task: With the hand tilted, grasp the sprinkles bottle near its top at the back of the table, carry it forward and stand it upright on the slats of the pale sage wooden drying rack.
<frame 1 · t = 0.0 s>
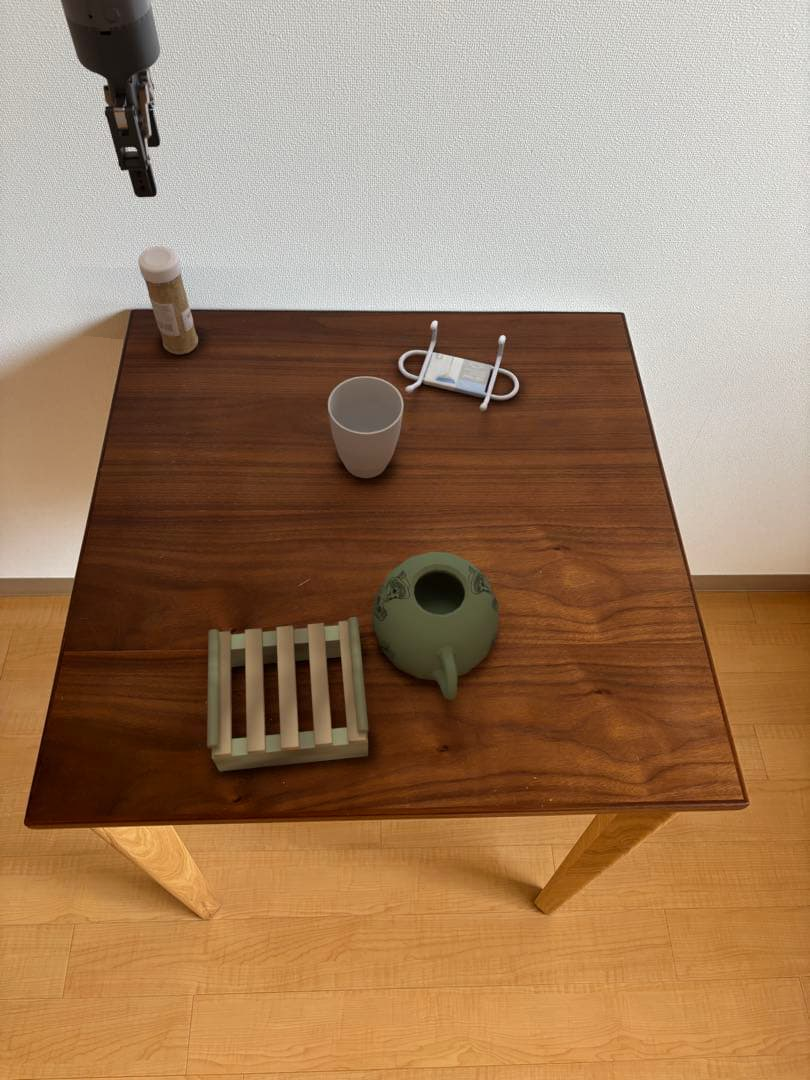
hand: (148, 169, 86), 24 cm above the table, tool pointing down, fingers open, 8 cm apart
drying rack: (291, 703, 80), on the table
sprinkles bottle: (181, 344, 105), on the table
wall mount rack: (454, 392, 102), on the table
olive green ceramic pot: (435, 643, 84), on the table
cup: (366, 462, 96), on the table
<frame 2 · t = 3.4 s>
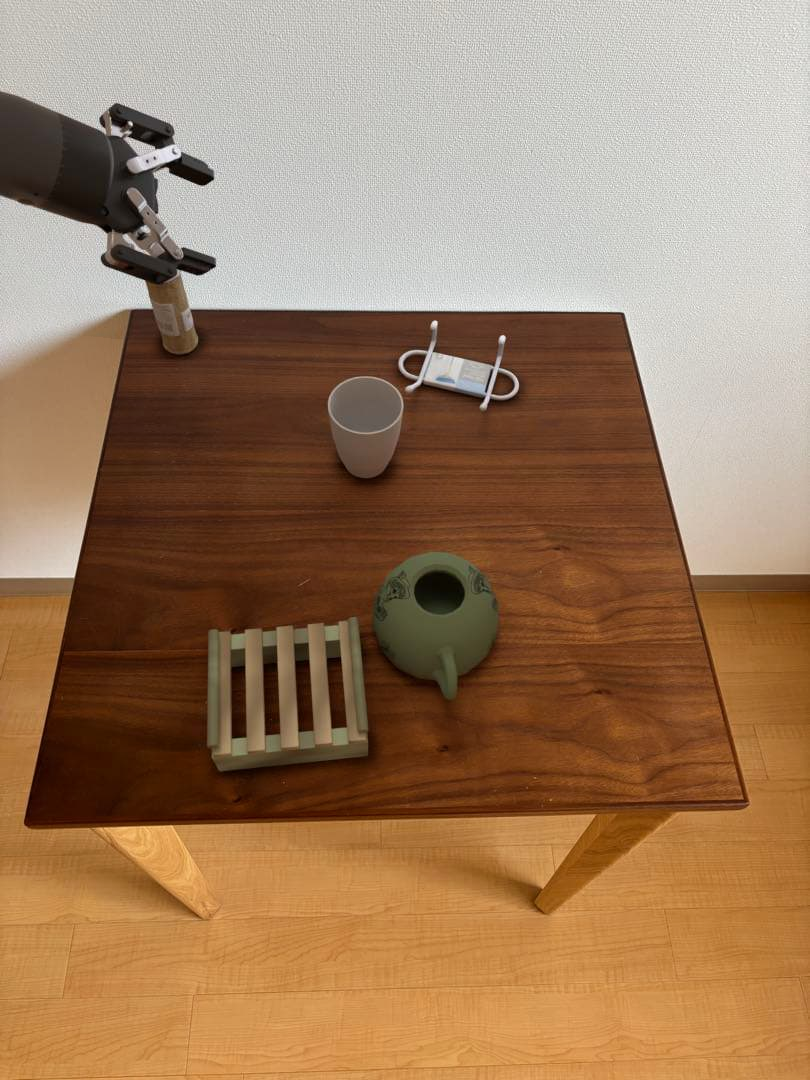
hand: (210, 222, 77), 26 cm above the table, tool tilted 50°, fingers open, 8 cm apart
nothing on the table moved.
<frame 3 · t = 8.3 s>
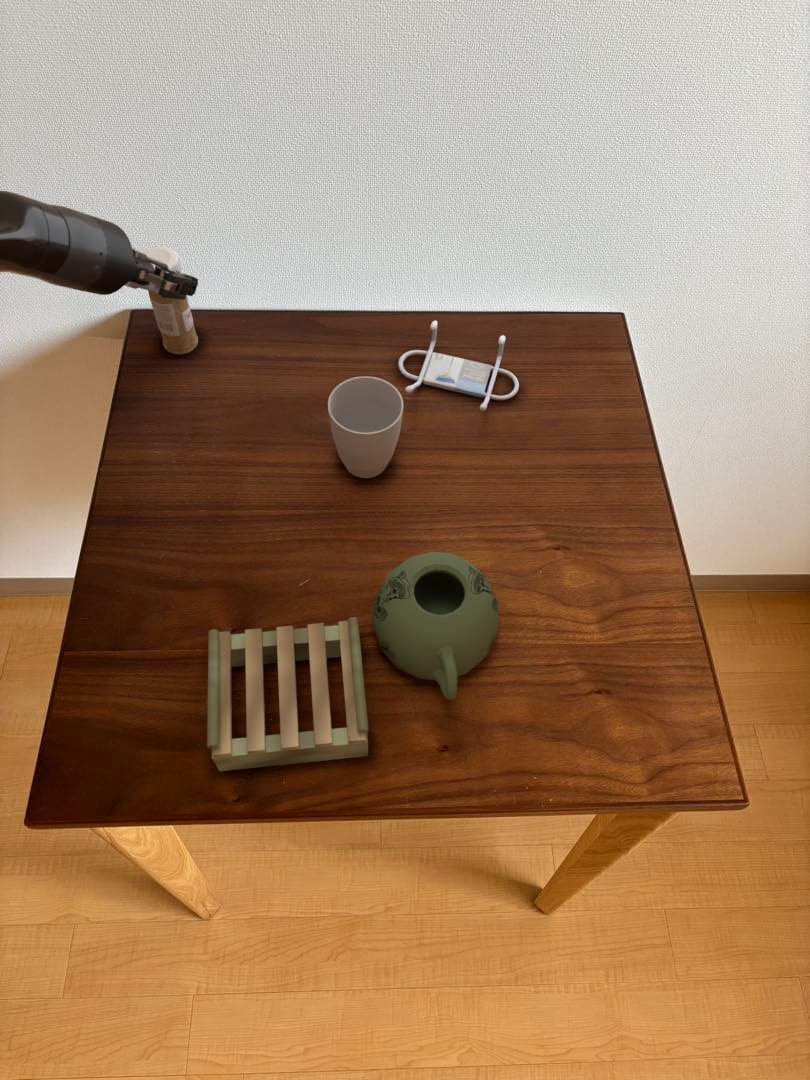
hand: (176, 278, 98), 9 cm above the table, tool tilted 45°, fingers closed on sprinkles bottle, 4 cm apart
sprinkles bottle: (181, 344, 105), on the table, touching gripper
everything else where it was.
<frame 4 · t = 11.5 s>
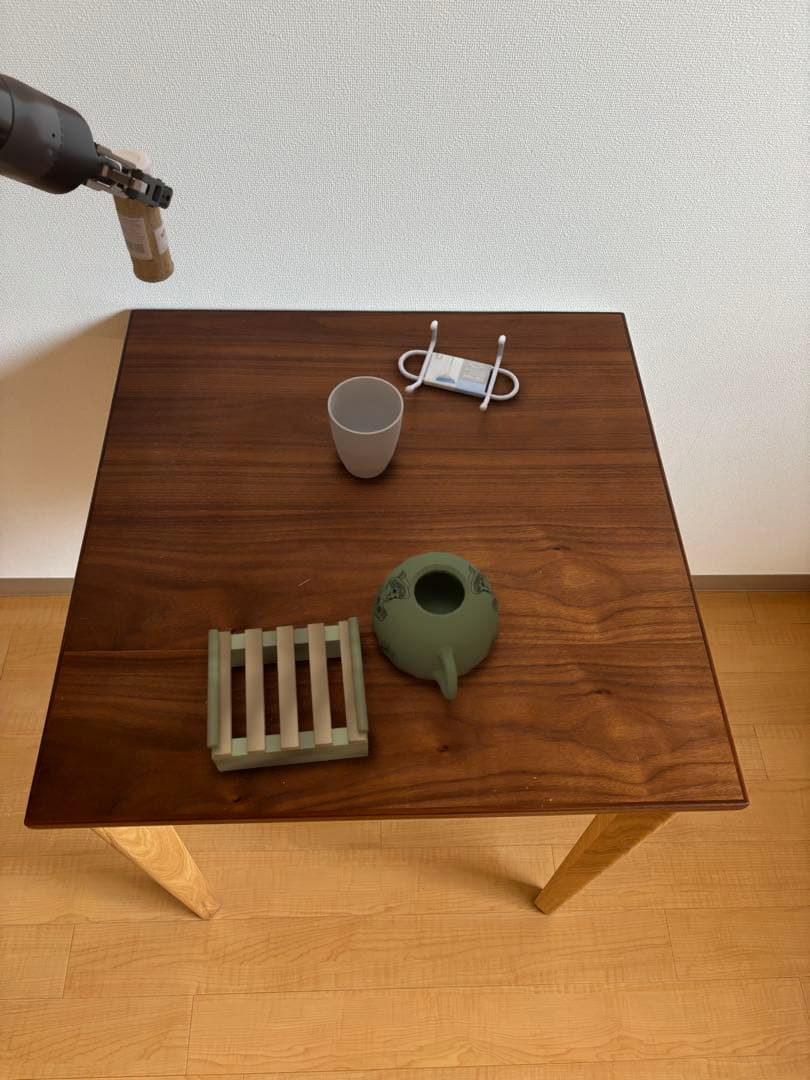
hand: (147, 189, 84), 23 cm above the table, tool tilted 45°, fingers closed on sprinkles bottle, 4 cm apart
sprinkles bottle: (154, 272, 91), point 14 cm above the table, touching gripper
everything else where it was.
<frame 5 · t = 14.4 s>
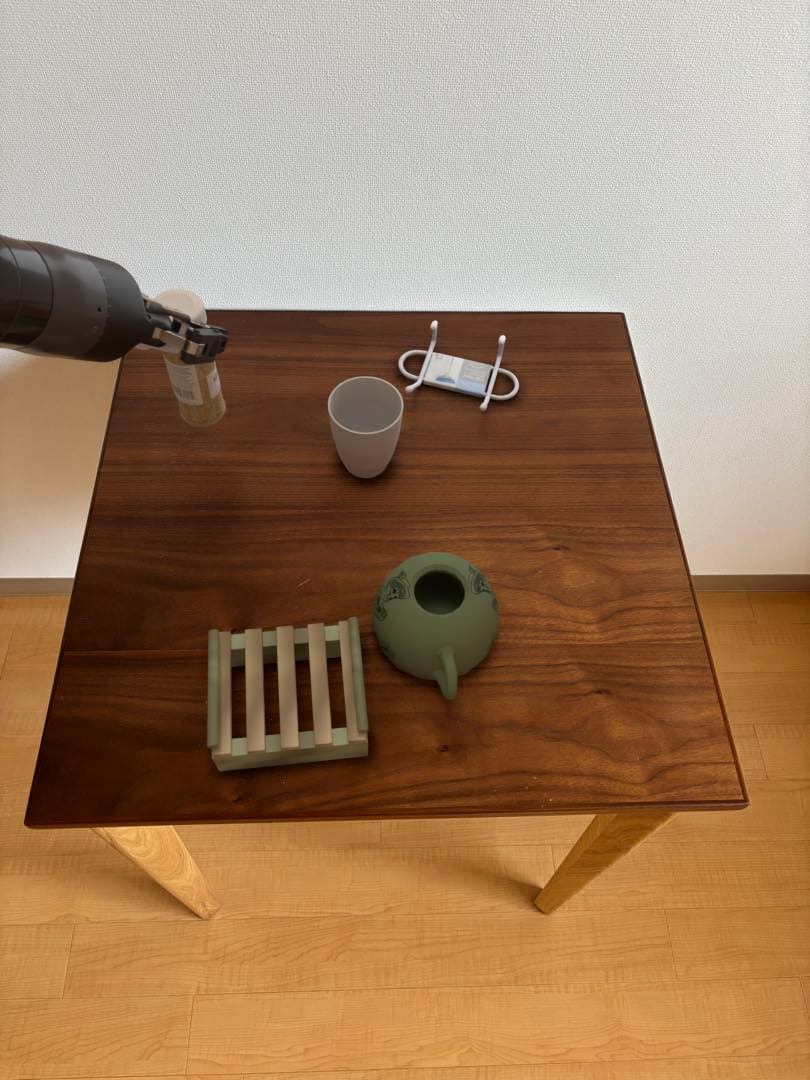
hand: (198, 329, 73), 24 cm above the table, tool tilted 45°, fingers closed on sprinkles bottle, 4 cm apart
sprinkles bottle: (203, 412, 80), point 15 cm above the table, touching gripper
everything else where it was.
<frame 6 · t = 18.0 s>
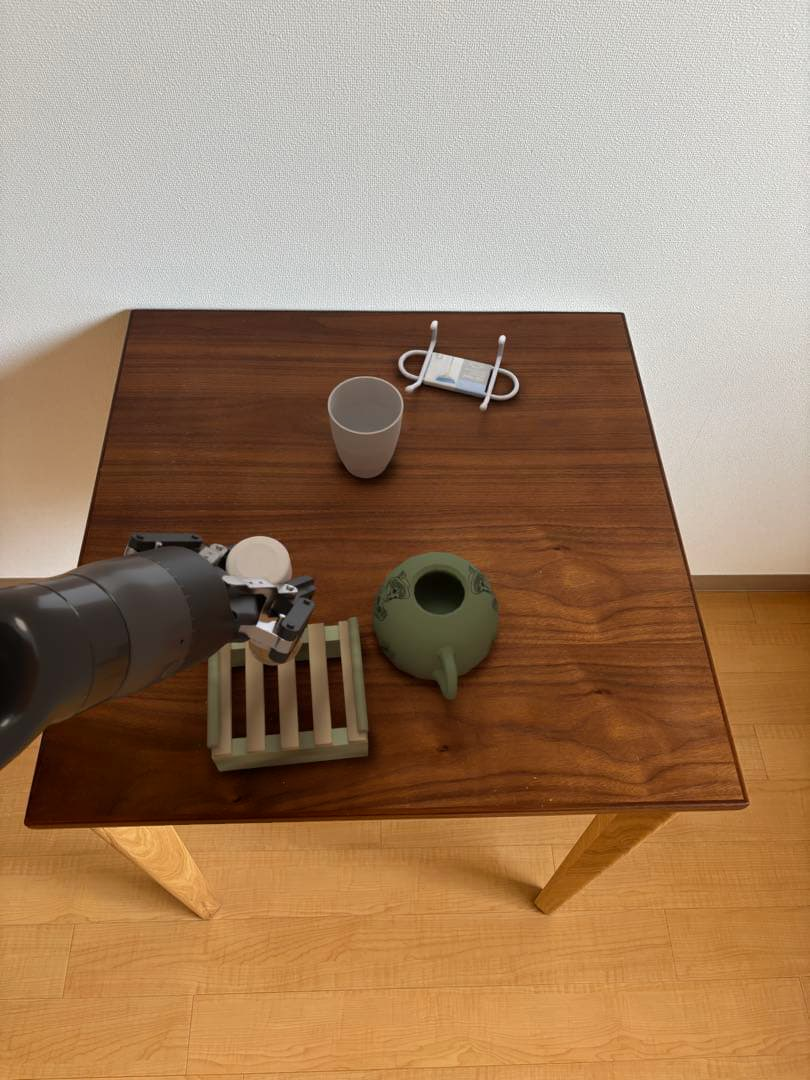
hand: (278, 572, 62), 23 cm above the table, tool tilted 45°, fingers closed on sprinkles bottle, 4 cm apart
sprinkles bottle: (275, 643, 69), point 13 cm above the table, touching gripper
everything else where it was.
when the fingers open (14 cm above the table, at t = 20.8 s): sprinkles bottle stays where it is, resting on drying rack.
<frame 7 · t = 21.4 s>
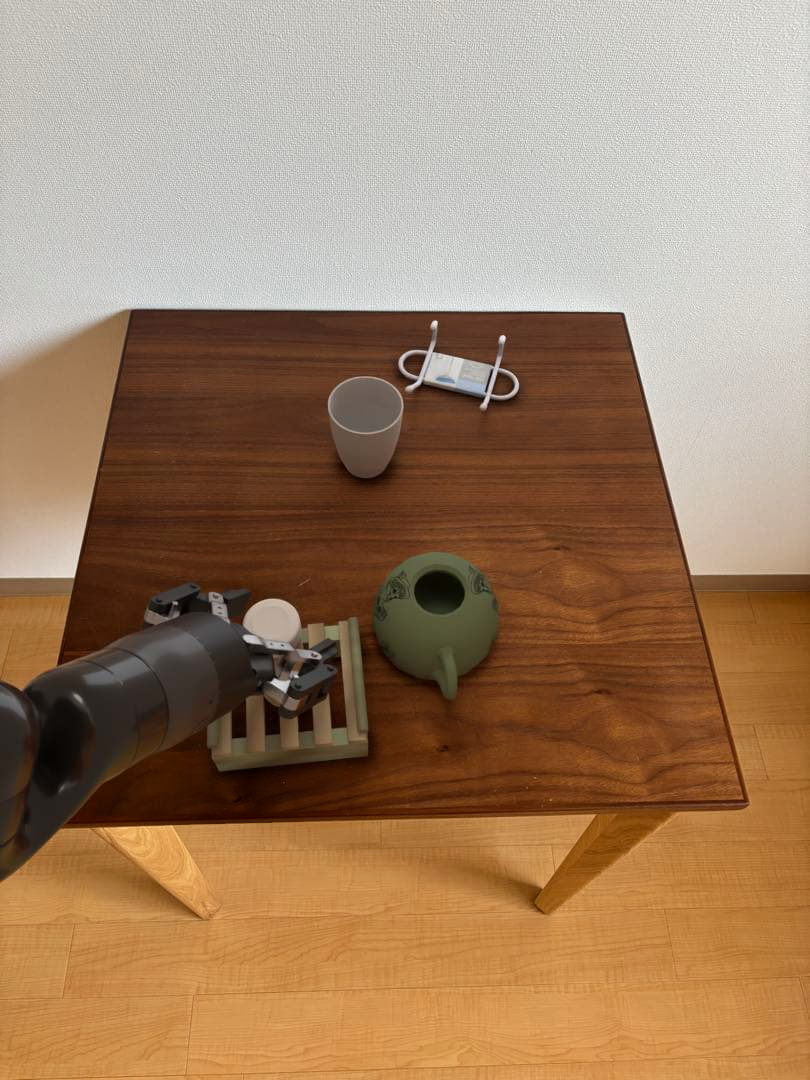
hand: (286, 624, 68), 15 cm above the table, tool tilted 45°, fingers open, 8 cm apart
sprinkles bottle: (286, 686, 76), point 5 cm above the table, touching drying rack
everything else where it was.
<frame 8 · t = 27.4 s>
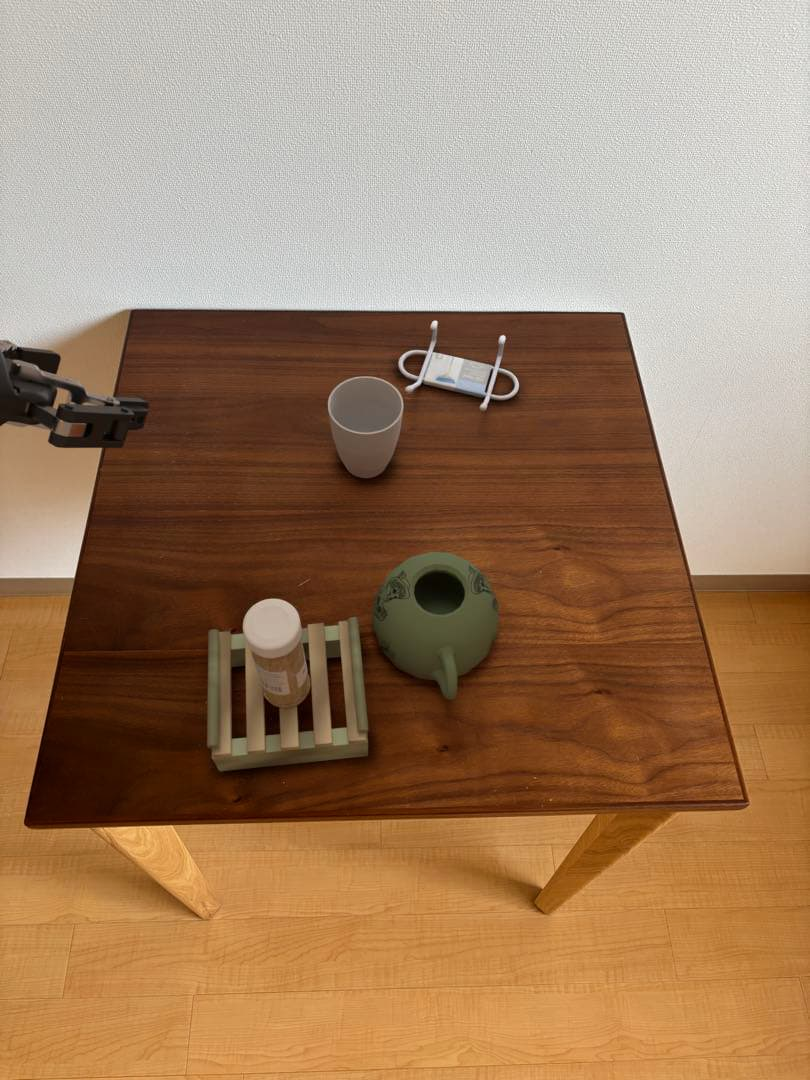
hand: (97, 389, 60), 31 cm above the table, tool tilted 45°, fingers open, 8 cm apart
nothing on the table moved.
at the end: sprinkles bottle inside the target area on the drying rack (0.2 cm from its centre), point 4.8 cm above the drying rack's base; sprinkles bottle tilted 0°; the gripper is holding nothing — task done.
